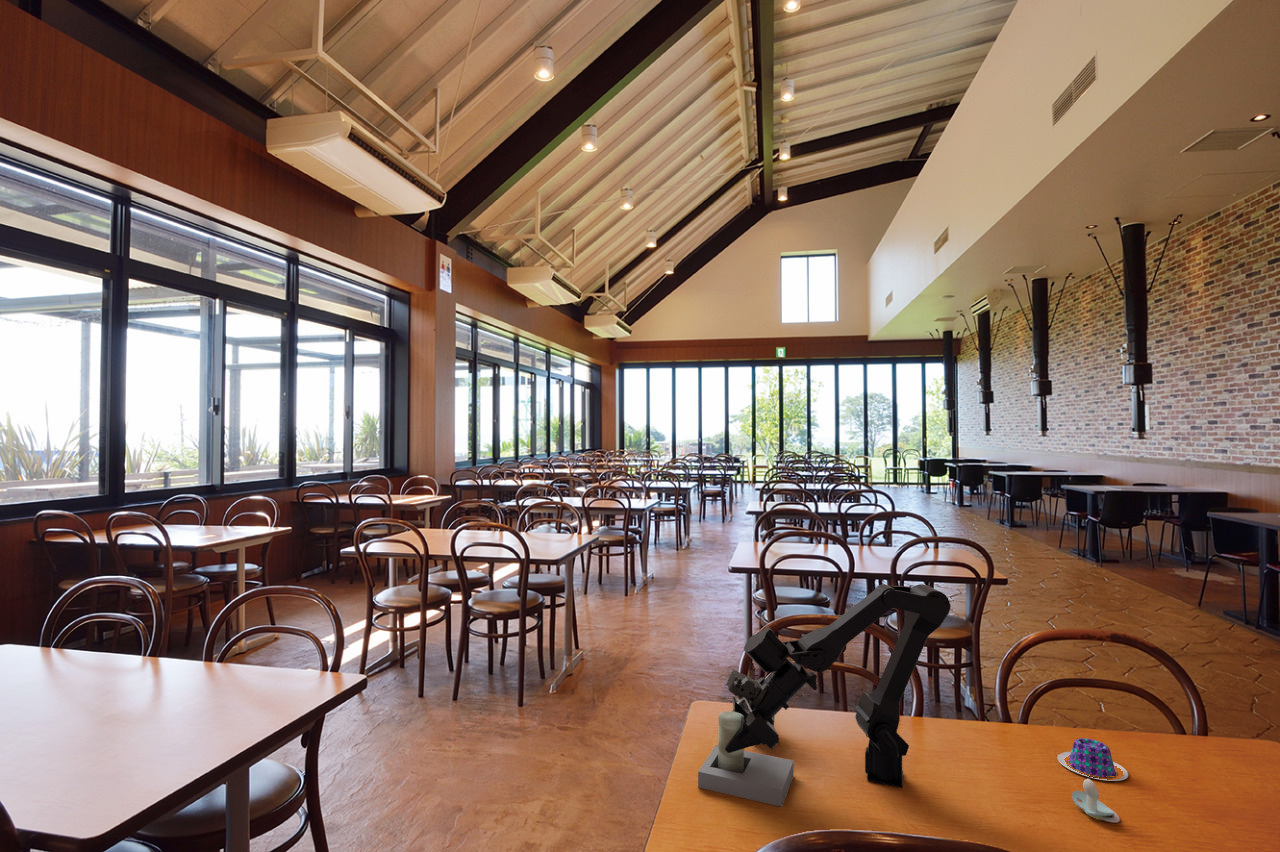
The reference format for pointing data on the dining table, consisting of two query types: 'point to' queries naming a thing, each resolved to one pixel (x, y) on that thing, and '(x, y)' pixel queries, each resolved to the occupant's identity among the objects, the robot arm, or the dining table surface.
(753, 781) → the pocket board
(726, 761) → the peg
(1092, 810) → the pacifier
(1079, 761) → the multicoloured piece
